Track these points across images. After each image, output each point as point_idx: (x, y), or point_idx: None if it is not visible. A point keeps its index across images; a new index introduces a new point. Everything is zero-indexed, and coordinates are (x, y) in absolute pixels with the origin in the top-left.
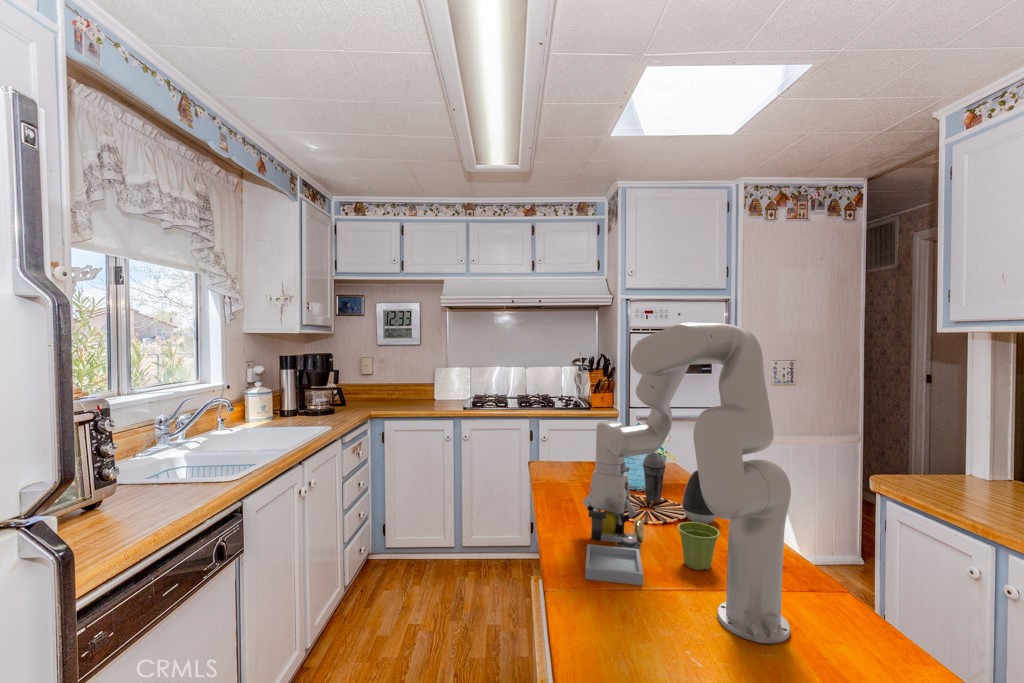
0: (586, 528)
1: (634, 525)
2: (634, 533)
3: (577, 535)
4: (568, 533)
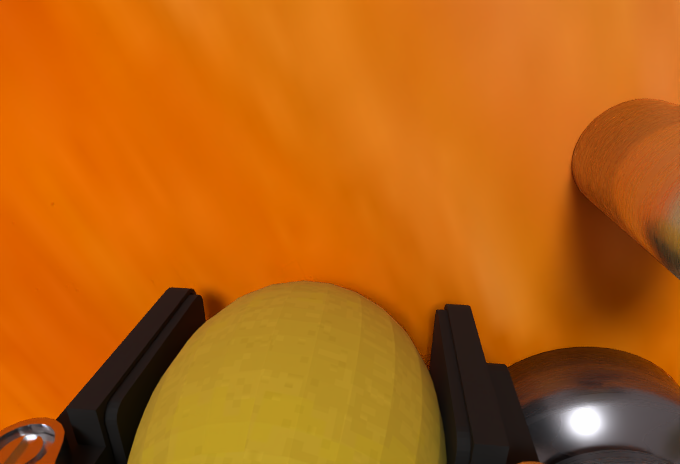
0: (26, 210)
1: (677, 274)
2: (618, 225)
3: (83, 382)
4: (9, 385)
